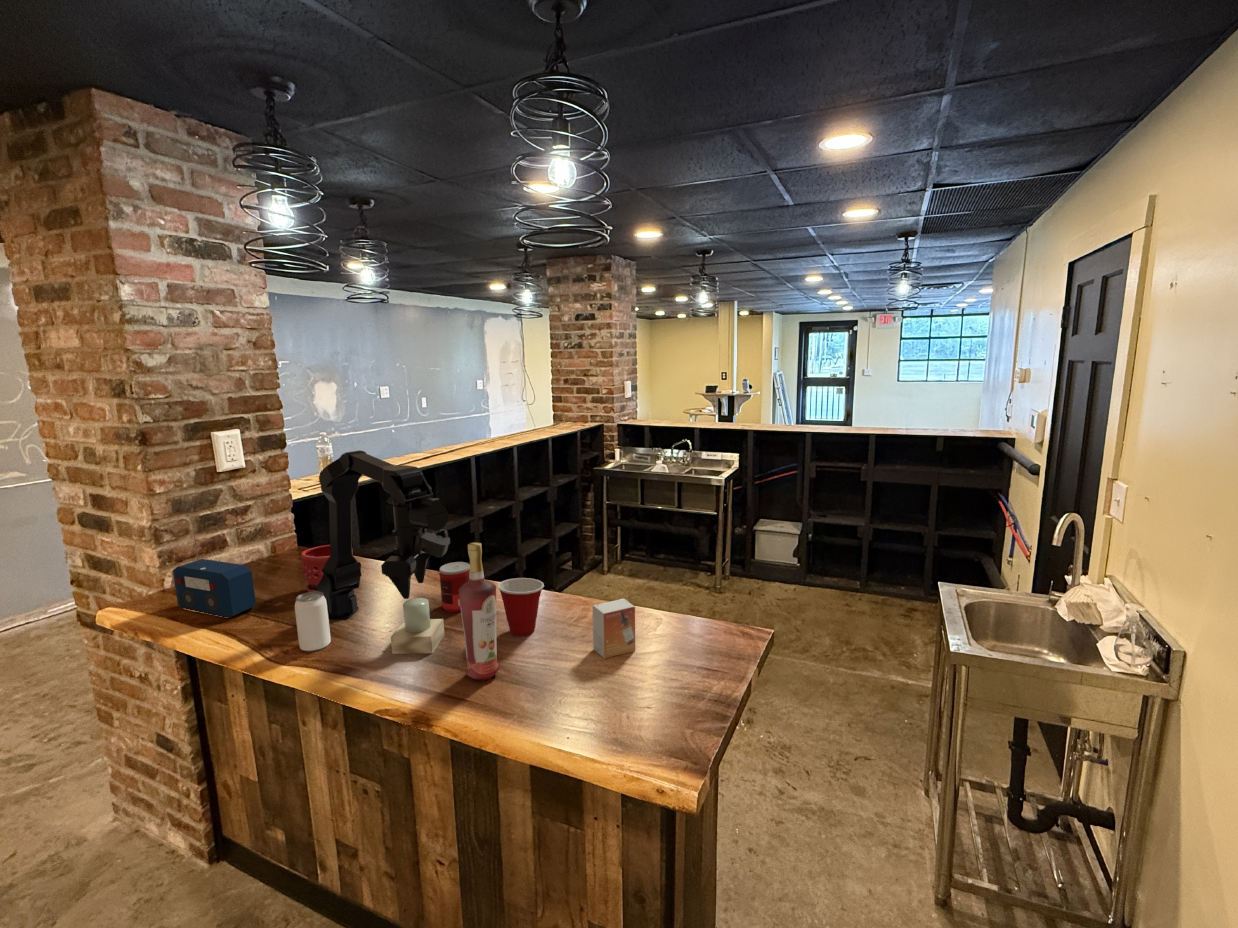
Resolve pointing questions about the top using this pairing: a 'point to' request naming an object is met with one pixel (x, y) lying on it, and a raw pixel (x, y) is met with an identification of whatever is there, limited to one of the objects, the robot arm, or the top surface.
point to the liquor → (479, 619)
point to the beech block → (417, 639)
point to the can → (312, 621)
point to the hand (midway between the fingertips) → (413, 590)
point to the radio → (214, 587)
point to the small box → (614, 628)
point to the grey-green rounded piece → (416, 615)
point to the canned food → (453, 584)
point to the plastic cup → (521, 604)
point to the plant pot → (315, 565)
